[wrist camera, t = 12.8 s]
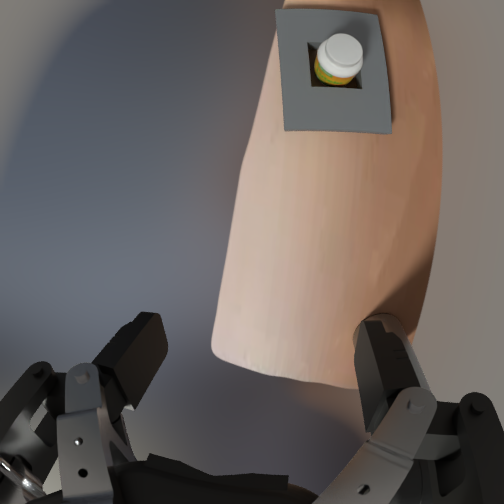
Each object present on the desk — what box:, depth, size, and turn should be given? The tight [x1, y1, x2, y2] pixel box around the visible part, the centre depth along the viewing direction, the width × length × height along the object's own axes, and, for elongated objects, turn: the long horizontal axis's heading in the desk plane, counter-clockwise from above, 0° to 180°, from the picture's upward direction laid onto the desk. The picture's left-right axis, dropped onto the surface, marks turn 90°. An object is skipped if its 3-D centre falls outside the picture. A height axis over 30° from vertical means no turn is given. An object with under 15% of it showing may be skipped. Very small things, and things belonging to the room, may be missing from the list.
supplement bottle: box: [314, 33, 363, 88], centre depth 26 cm, size 5×5×10 cm
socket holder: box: [275, 9, 392, 134], centre depth 29 cm, size 18×14×3 cm
